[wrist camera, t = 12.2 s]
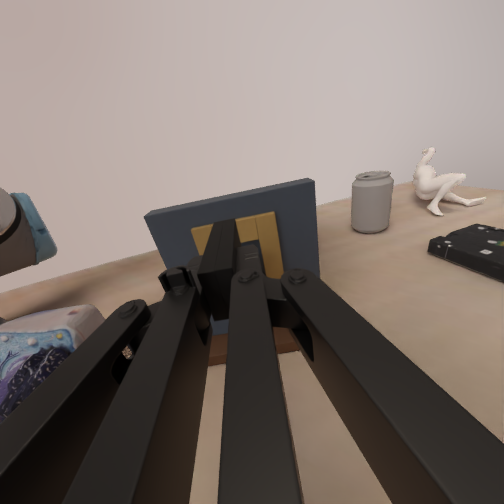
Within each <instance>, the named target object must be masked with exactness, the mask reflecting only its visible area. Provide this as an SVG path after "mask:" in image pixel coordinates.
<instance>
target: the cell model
mask: <svg viewBox="0 0 504 504" xmlns="http://www.w3.org/2000/svg"><path fill="white" fill-rule="evenodd" d="M104 321H105V318H104V317H103V316H102V314H101V313H100V311H99V310H98V309H97V308H96V307H95V306H94V305H90V304H87V305H77V306H72V307H66V308H60V309H54V310H46V311H41V312H37V313H33V314H29V315H26V316H23V317H19V318H17V319H14V320H11V321H9V322H6V323H4V324H1V325H0V423H1V422H2V421H3V420H4V419H5V418H6V417H8V416H9V415H10V414H11V413H12V412H13V411H14V410H15V409H16V408H17V407H18V406H19V405H20V404H21V403H22V402H23V401H24V400H25V399H26V398H27V397H28V396H29V395H30V394H31V393H32V392H33V391H34V390H35V389H36V388H37V387H38V386H39V385H40V384H41V383H42V382H43V381H44V380H45V379H46V378H47V377H48V376H49V375H50V374H51V373H52V372H53V371H54V370H55V369H56V368H57V367H58V366H59V365H60V364H61V363H62V362H63V361H64V360H65V359H66V358H67V357H68V356H69V355H70V354H71V353H72V352H74V351H75V350H76V349H77V348H78V347H79V346H80V345H81V344H82V343H83V342H84V341H85V340H86V339H87V338H88V337H89V336H90V335H91V334H92V333H93V332H94V331H95V330H96V329H97V328H98V327H99V326H100V325H101V324H102V323H103V322H104Z"/></svg>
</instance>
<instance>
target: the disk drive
mask: <svg viewBox="0 0 504 504" xmlns="http://www.w3.org/2000/svg"><path fill="white" fill-rule="evenodd" d="M428 252H431V253H432V254H433V255H435V256H438V257H440V258H443V259H445V260H448V261H450V262H453V263H455V264H458V265H461V266H463V267H466V268H468V269H471V270H473V271H476V272H479V273H483V274H484V275H487V276H489V277H491V278H494V279H496V280H499V281H502V282H504V229H498V228H495V227H491V226H486V225H480V224H474V225H471V226H468V227H466V228H462V229H460V230H456V231H453V232H451V233H450V234H448V235H447V236H446V237H442V236H439V237H436V238H433V239H431V240H430V242H429V247H428Z"/></svg>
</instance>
